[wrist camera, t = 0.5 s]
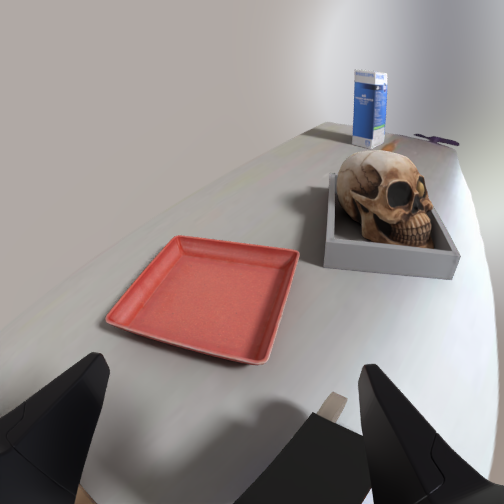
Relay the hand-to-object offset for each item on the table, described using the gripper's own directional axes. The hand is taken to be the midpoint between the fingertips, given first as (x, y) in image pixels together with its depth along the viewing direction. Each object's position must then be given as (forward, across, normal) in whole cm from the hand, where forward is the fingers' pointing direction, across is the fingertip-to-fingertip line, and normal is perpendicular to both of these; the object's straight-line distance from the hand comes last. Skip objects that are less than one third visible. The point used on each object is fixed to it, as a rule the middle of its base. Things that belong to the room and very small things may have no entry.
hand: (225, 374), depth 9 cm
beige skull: (+40, -20, +12) cm, 46 cm away
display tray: (+40, -20, +12) cm, 46 cm away
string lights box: (+97, -34, +6) cm, 103 cm away
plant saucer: (+22, +6, +14) cm, 27 cm away
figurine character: (0, -4, +17) cm, 17 cm away
